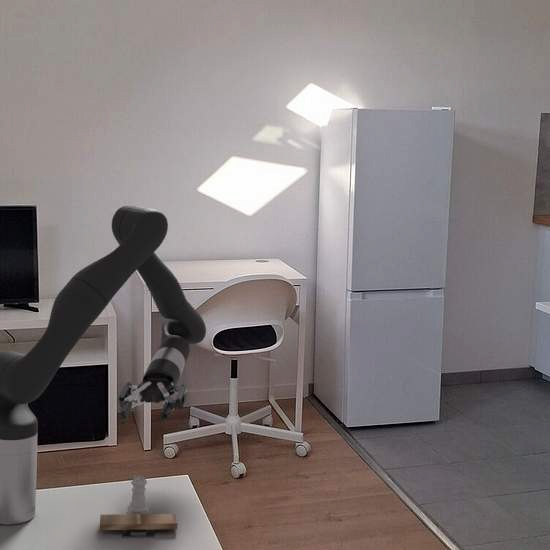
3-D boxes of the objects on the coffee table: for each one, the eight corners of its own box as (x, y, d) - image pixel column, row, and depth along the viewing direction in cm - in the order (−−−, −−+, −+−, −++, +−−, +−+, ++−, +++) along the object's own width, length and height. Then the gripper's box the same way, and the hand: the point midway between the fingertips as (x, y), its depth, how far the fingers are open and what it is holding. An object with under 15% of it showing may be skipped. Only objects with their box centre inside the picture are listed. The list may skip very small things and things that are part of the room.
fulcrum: (122, 537, 162) (122, 533, 162) (122, 522, 169) (123, 519, 169) (154, 536, 163) (154, 533, 163) (153, 522, 170) (153, 518, 170)
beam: (99, 530, 162) (99, 524, 162) (100, 520, 167) (100, 514, 167) (177, 529, 165) (177, 523, 165) (175, 519, 170) (176, 513, 169)
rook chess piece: (149, 510, 175) (151, 474, 174) (147, 520, 171) (149, 482, 170) (128, 509, 175) (129, 473, 174) (125, 518, 171) (126, 481, 170)
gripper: (131, 356, 189) (107, 402, 176) (192, 358, 187) (172, 404, 173) (137, 383, 193) (114, 430, 179) (197, 385, 190) (178, 432, 177)
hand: (143, 417), depth 176 cm, fingers open, 8 cm apart
